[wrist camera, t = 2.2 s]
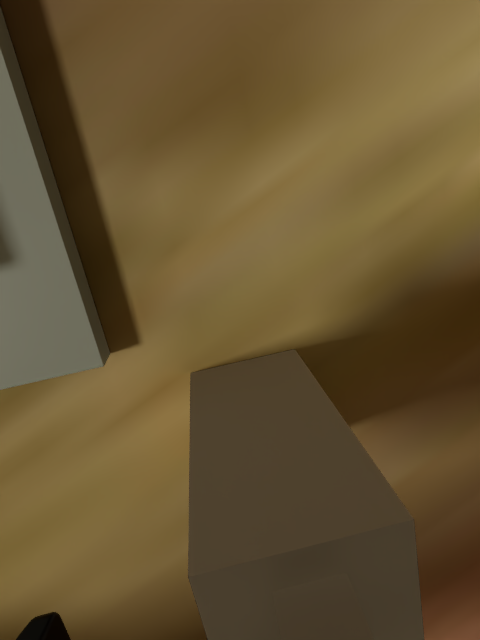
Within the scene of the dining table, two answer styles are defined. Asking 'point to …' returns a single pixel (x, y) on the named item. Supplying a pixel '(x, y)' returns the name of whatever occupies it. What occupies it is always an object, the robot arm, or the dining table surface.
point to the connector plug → (292, 514)
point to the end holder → (37, 252)
